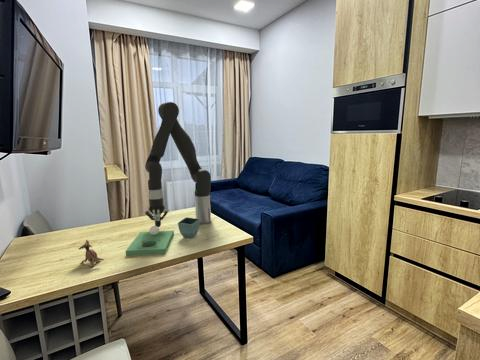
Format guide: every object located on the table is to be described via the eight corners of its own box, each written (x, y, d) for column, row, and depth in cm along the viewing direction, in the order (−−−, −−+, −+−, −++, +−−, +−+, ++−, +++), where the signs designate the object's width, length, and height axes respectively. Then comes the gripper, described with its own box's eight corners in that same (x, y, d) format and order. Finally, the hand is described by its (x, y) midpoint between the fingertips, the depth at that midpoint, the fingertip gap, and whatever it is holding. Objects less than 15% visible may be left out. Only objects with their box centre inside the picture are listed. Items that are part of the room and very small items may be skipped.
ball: (160, 232, 136) (159, 224, 135) (158, 236, 131) (157, 227, 130) (151, 233, 136) (150, 224, 135) (148, 237, 131) (147, 228, 130)
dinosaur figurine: (76, 261, 112) (73, 242, 110) (90, 256, 117) (87, 237, 115) (92, 270, 105) (89, 250, 103) (106, 264, 110) (104, 244, 108)
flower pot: (193, 240, 132) (192, 224, 130) (178, 238, 135) (177, 222, 133) (200, 234, 140) (200, 218, 138) (186, 232, 143) (185, 217, 141)
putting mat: (174, 234, 140) (173, 230, 139) (165, 253, 118) (165, 248, 118) (140, 236, 138) (140, 231, 138) (126, 255, 117) (125, 250, 116)
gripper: (169, 194, 143) (171, 223, 146) (145, 195, 142) (148, 224, 145) (166, 198, 136) (168, 228, 139) (141, 199, 135) (144, 229, 138)
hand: (158, 226), depth 142 cm, fingers closed
